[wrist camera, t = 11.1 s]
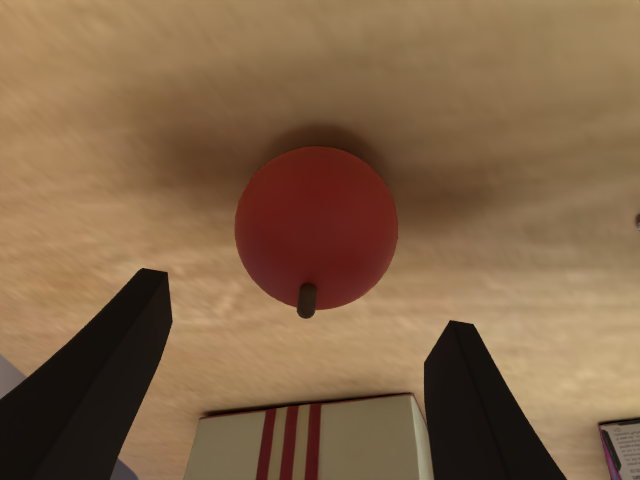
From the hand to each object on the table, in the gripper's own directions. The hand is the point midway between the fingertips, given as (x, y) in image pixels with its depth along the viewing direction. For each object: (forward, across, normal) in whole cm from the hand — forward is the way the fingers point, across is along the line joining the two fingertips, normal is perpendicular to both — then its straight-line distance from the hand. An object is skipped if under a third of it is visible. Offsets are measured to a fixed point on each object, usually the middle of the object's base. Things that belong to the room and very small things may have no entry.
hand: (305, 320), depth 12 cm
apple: (+4, 0, 0) cm, 4 cm away
